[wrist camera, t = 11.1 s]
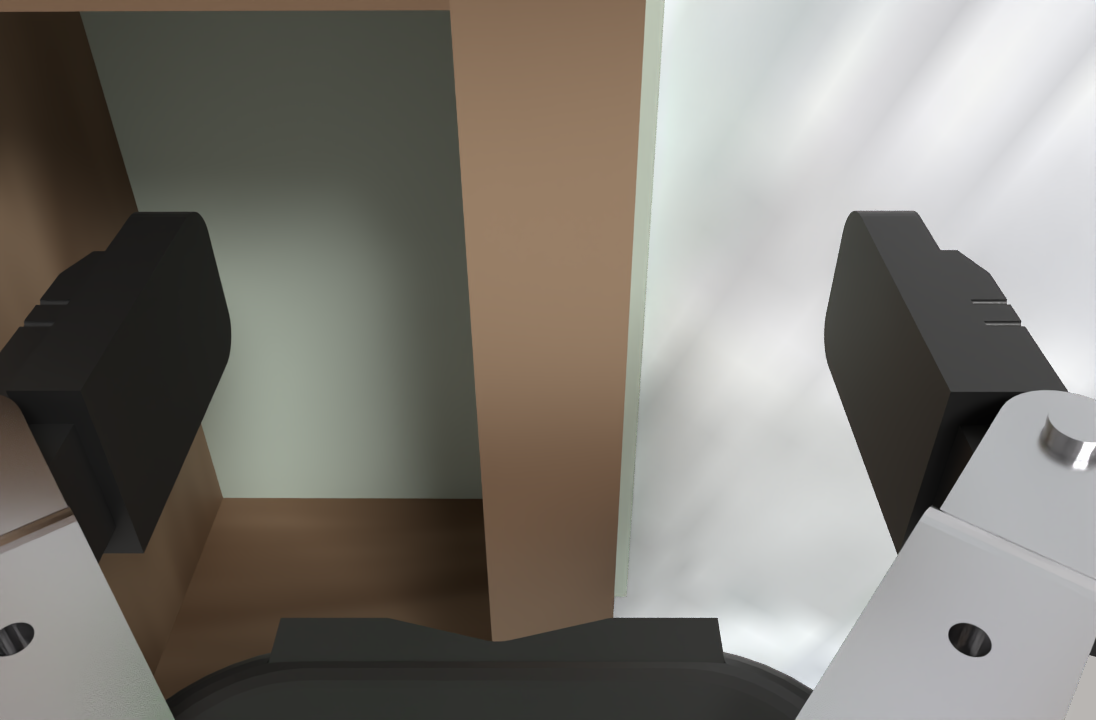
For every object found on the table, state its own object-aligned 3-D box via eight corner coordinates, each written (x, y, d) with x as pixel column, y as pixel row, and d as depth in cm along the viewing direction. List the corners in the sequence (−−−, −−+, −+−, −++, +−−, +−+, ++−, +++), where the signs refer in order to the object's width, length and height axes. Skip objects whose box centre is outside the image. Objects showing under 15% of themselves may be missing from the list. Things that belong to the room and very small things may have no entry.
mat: (-225, -319, 13) (-250, -317, 12) (681, -325, 13) (685, -325, 12) (135, 578, 24) (128, 594, 23) (625, 580, 24) (626, 596, 23)
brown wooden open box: (-140, -271, 13) (-563, -210, 8) (620, -276, 13) (657, -218, 8) (162, 552, 22) (53, 804, 18) (594, 554, 22) (602, 808, 17)
